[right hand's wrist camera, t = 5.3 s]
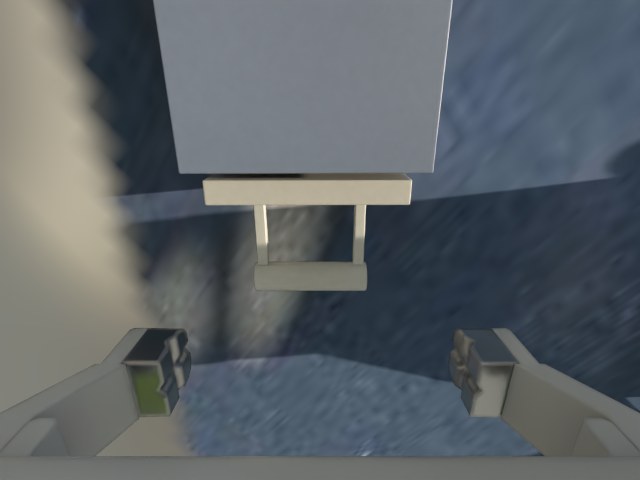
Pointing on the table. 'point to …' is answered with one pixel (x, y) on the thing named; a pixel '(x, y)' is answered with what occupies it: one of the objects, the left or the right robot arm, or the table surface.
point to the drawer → (308, 192)
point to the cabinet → (304, 84)
